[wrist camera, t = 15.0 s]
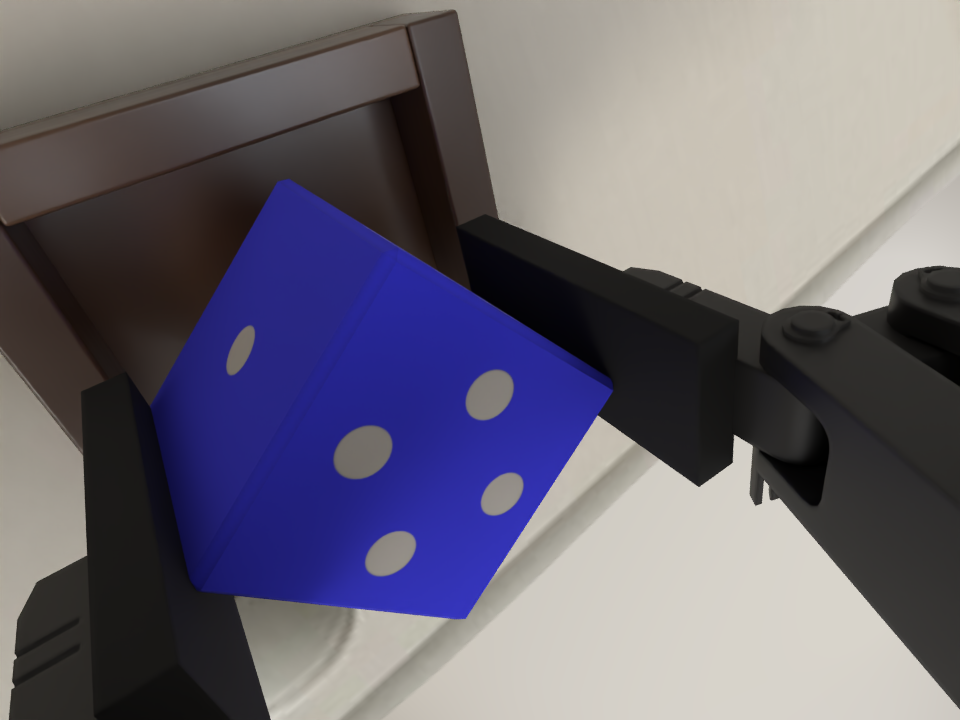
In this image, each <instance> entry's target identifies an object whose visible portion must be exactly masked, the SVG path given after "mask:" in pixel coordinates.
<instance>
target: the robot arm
mask: <svg viewBox="0 0 960 720" xmlns="http://www.w3.org/2000/svg"><path fill="white" fill-rule="evenodd" d="M456 230H457V234H458V238H459V242H460V246H461V250H462V254H463V259H464V263H465V267H466V271H467V275H468V279H469V283H470V287H471V291H472V292H473V293H474V294H476V295H478V296H479V297H481V298H482V299H484V300H486V301H487V302H489V303H490V304H492V305H494V306H495V307H497V308H498V309H500V310H502V311H503V312H505V313H506V314H508V315H510V316H511V317H513V318H514V319H516V320H518V321H519V322H521V323H522V324H524V325H526V326H527V327H529V328H530V329H532V330H534V331H535V332H537V333H538V334H540V335H542V336H543V337H545V338H546V339H548V340H549V341H551V342H553V343H554V344H556V345H557V346H559V347H561V348H562V349H564V350H565V351H567V352H569V353H570V354H572V355H573V356H575V357H577V358H578V359H580V360H581V361H583V362H585V363H586V364H588V365H589V366H591V367H593V368H594V369H596V370H597V371H599V372H601V373H602V374H604V375H605V376H607V377H609V378H610V379H611V381H612V383H613V392H612V394H611V395H610V397H609V398H608V400H607V401H606V403H605V404H604V406H603V408H602V409H601V411H600V412H599V414H598V416H600V417H601V418H602V419H604V420H605V421H607V422H608V423H609V424H611V425H612V426H614V427H615V428H617V429H618V430H619V431H621V432H622V433H624V434H625V435H626V436H628V437H629V438H631V439H632V440H633V441H635V442H636V443H638V444H639V445H640V446H642V447H643V448H645V449H646V450H648V451H649V452H650V453H652V454H653V455H655V456H656V457H657V458H659V459H660V460H662V461H663V462H664V463H666V464H668V465H669V466H670V467H671V468H673V469H674V470H676V471H677V472H679V473H680V474H682V475H683V476H684V477H686V478H687V479H689V480H690V481H691V482H693V483H694V484H695V485H697V486H698V487H700V486H701V485H702V484H704V483H705V482H707V481H708V480H709V479H711V478H712V477H714V476H715V475H716V474H718V473H719V472H720V471H722V470H723V469H725V468H726V467H727V466H729V465H730V464H732V463H733V443H734V435H736V436H738V437H740V438H741V439H743V440H745V441H746V442H748V443H750V444H751V445H753V454H752V468H751V481H750V496H751V498H752V500H753V502H754V504H755V505H759V504H761V503H762V493H763V483H764V480H765V482H766V483H767V484H768V485H769V496H770V500H775V499H778V498H780V499H781V500H782V501H783V503H784V504H785V505H786V506H787V507H788V508H789V510H790V511H791V512H792V513H793V514H794V515H795V517H796V518H797V519H798V520H799V521H800V523H801V524H802V525H803V526H804V527H805V528H806V530H807V531H808V532H809V533H810V534H811V535H812V537H813V538H814V539H815V540H816V541H817V542H818V544H819V545H820V546H821V547H822V548H823V550H824V551H825V552H826V553H827V554H828V555H829V557H830V558H831V559H832V560H833V561H834V562H835V564H836V565H837V566H838V567H839V568H840V569H841V571H842V572H843V573H844V574H845V575H846V576H847V578H848V579H849V580H850V581H851V582H852V583H853V585H854V586H855V587H856V588H857V589H858V591H859V592H860V593H861V594H862V595H863V596H864V598H865V599H866V600H867V601H868V602H869V603H870V605H871V606H872V607H873V608H874V609H875V610H876V612H877V613H878V614H879V615H880V616H881V618H882V619H883V620H884V621H885V622H886V623H887V625H888V626H889V627H890V628H891V629H892V630H893V632H894V633H895V634H896V635H897V636H898V637H899V639H900V640H901V641H902V642H903V643H904V644H905V646H906V647H907V648H908V649H909V650H910V651H911V653H912V654H913V655H914V656H915V657H916V658H917V659H918V661H919V662H920V663H921V664H922V665H923V667H924V668H925V669H926V670H927V671H928V673H929V674H930V675H931V676H932V677H933V678H934V680H935V681H936V682H937V683H938V684H939V686H940V687H941V688H942V689H943V690H944V691H945V692H946V694H947V695H948V696H949V697H950V698H951V700H952V701H953V702H954V703H955V704H956V705H957V707H958V708H959V709H960V268H954V267H945V266H932V267H925V268H918V269H914V270H911V271H909V272H905V273H903V274H902V275H900V276H899V277H898V278H897V279H895V280H894V284H893V289H892V293H891V298H890V303H889V305H888V306H885V307H882V308H879V309H875V310H872V311H868V312H865V313H862V314H858V315H855V316H850V315H848V314H846V313H844V312H842V311H839V310H835V309H831V308H826V307H821V306H797V307H791V308H785V309H782V310H780V311H777V312H775V313H773V314H768V313H765V312H763V311H760V310H758V309H755V308H753V307H750V306H748V305H745V304H743V303H740V302H737V301H735V300H732V299H730V298H727V297H725V296H722V295H720V294H717V293H714V292H712V291H709V290H707V289H705V290H702V289H701V287H699V286H697V285H694V284H691V283H689V282H685V283H683V282H682V280H681V279H679V278H676V277H674V276H671V275H668V274H666V273H663V272H661V271H657V270H649V269H641V268H633V267H630V268H629V269H627V270H625V271H620V270H618V269H616V268H613V267H611V266H608V265H606V264H604V263H601V262H599V261H596V260H594V259H592V258H589V257H587V256H585V255H582V254H580V253H577V252H575V251H573V250H570V249H568V248H565V247H563V246H561V245H558V244H556V243H553V242H551V241H549V240H546V239H544V238H542V237H539V236H537V235H534V234H532V233H530V232H527V231H525V230H522V229H520V228H518V227H515V226H513V225H510V224H508V223H506V222H503V221H501V220H499V219H496V218H494V217H491V216H489V215H487V214H484V215H482V216H479V217H477V218H475V219H473V220H470V221H468V222H466V223H463V224H461V225H459V226H457V227H456ZM81 411H82V436H83V461H84V486H85V512H86V537H87V556H85V557H84V558H82V559H80V560H78V561H76V562H74V563H72V564H70V565H68V566H66V567H65V568H63V569H61V570H59V571H57V572H55V573H53V574H51V575H49V576H47V577H46V578H44V579H42V580H40V581H38V582H37V583H36V585H35V587H34V589H33V591H32V592H31V594H30V596H29V598H28V600H27V602H26V604H25V606H24V608H23V610H22V612H21V614H20V616H19V618H18V620H17V631H16V643H15V654H16V656H17V659H15V660H14V666H13V678H12V682H13V684H14V686H15V688H13V689H12V690H11V702H10V713H9V720H271V719H270V716H269V712H268V709H267V706H266V702H265V699H264V696H263V692H262V689H261V686H260V682H259V679H258V676H257V672H256V669H255V666H254V662H253V659H252V656H251V652H250V649H249V646H248V642H247V639H246V636H245V632H244V629H243V626H242V622H241V619H240V616H239V612H238V609H237V606H236V602H235V599H234V596H233V595H226V594H216V593H207V592H199V591H197V590H196V588H195V587H194V585H193V584H192V583H191V581H190V579H189V575H188V571H187V566H186V562H185V557H184V553H183V548H182V544H181V539H180V535H179V530H178V526H177V522H176V517H175V513H174V508H173V504H172V499H171V495H170V490H169V486H168V482H167V477H166V473H165V468H164V464H163V459H162V455H161V450H160V446H159V442H158V437H157V433H156V428H155V424H154V419H153V415H152V410H151V408H150V406H149V405H148V403H147V402H146V400H145V399H144V397H143V396H142V394H141V393H140V391H139V390H138V388H137V387H136V385H135V384H134V382H133V381H132V379H131V378H130V376H129V375H128V374H127V372H124V373H122V374H119V375H117V376H115V377H113V378H110V379H108V380H106V381H104V382H101V383H99V384H97V385H94V386H92V387H90V388H88V389H85V390H83V391H81Z"/></svg>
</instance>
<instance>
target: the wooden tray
mask: <svg viewBox="0 0 960 720" xmlns="http://www.w3.org/2000/svg"><path fill="white" fill-rule="evenodd" d="M286 179H290V180H292V181H293V182H295V183H297V184H298V185H300V186H302V187H303V188H305V189H306V190H308V191H310V192H311V193H313V194H314V195H316V196H318V197H319V198H321V199H323V200H324V201H326V202H327V203H329V204H331V205H332V206H334V207H335V208H337V209H339V210H340V211H342V212H344V213H345V214H347V215H348V216H350V217H352V218H353V219H355V220H357V221H358V222H360V223H361V224H363V225H365V226H366V227H368V228H369V229H371V230H373V231H374V232H376V233H378V234H379V235H381V236H382V237H384V238H386V239H387V240H389V241H390V242H392V243H394V244H395V245H397V246H399V247H400V248H402V249H403V250H405V251H407V252H408V253H410V254H411V255H413V256H415V257H416V258H418V259H420V260H421V261H423V262H424V263H426V264H428V265H429V266H431V267H432V268H434V269H436V270H437V271H439V272H441V273H442V274H444V275H445V276H447V277H449V278H450V279H452V280H453V281H455V282H457V283H458V284H460V285H462V286H463V287H465V288H466V289H468V290H470V291H471V287H470V283H469V279H468V275H467V271H466V267H465V263H464V259H463V254H462V250H461V246H460V242H459V238H458V234H457V230H456V227H457V226H459V225H461V224H463V223H466V222H468V221H470V220H473V219H475V218H477V217H479V216H482V215H484V214H487V215H489V216H491V217H494V218H496V219H499V218H498V214H497V209H496V204H495V199H494V194H493V189H492V184H491V179H490V174H489V169H488V164H487V159H486V154H485V149H484V144H483V139H482V134H481V129H480V124H479V119H478V114H477V109H476V104H475V99H474V94H473V89H472V84H471V79H470V74H469V69H468V64H467V59H466V54H465V49H464V45H463V40H462V35H461V30H460V25H459V20H458V15H457V12H456V11H455V10H444V11H433V12H421V13H409V14H402V15H398V16H395V17H391V18H388V19H384V20H381V21H377V22H374V23H371V24H367V25H364V26H360V27H357V28H353V29H350V30H346V31H343V32H340V33H336V34H333V35H329V36H326V37H322V38H319V39H315V40H312V41H308V42H305V43H302V44H298V45H295V46H291V47H288V48H284V49H281V50H277V51H274V52H270V53H267V54H264V55H260V56H257V57H253V58H250V59H246V60H243V61H239V62H236V63H233V64H229V65H226V66H222V67H219V68H215V69H212V70H208V71H205V72H201V73H198V74H195V75H191V76H188V77H184V78H181V79H177V80H174V81H170V82H167V83H164V84H160V85H157V86H153V87H150V88H146V89H143V90H139V91H136V92H132V93H129V94H126V95H122V96H119V97H115V98H112V99H108V100H105V101H101V102H98V103H95V104H91V105H88V106H84V107H81V108H77V109H74V110H70V111H67V112H63V113H60V114H57V115H53V116H50V117H46V118H43V119H39V120H36V121H32V122H29V123H25V124H22V125H19V126H15V127H12V128H8V129H5V130H1V131H0V352H1V354H2V355H3V356H4V357H5V359H6V360H7V361H8V362H9V364H10V365H11V366H12V367H13V369H14V370H15V371H16V372H17V374H18V375H19V376H20V377H21V379H22V380H23V381H24V382H25V384H26V385H27V386H28V387H29V389H30V390H31V391H32V392H33V394H34V395H35V396H36V397H37V399H38V400H39V401H40V402H41V404H42V405H43V406H44V407H45V409H46V410H47V411H48V412H49V414H50V415H51V416H52V417H53V419H54V420H55V421H56V422H57V424H58V425H59V426H60V427H61V429H62V430H63V431H64V432H65V434H66V435H67V436H68V437H69V439H70V440H71V441H72V442H73V444H74V445H75V446H76V447H77V449H78V450H79V451H80V452H81V453H82V455H83V436H82V411H81V391H83V390H85V389H88V388H90V387H92V386H94V385H97V384H99V383H101V382H104V381H106V380H108V379H110V378H113V377H115V376H117V375H119V374H122V373H124V372H127V374H128V375H129V376H130V378H131V379H132V381H133V382H134V384H135V385H136V387H137V388H138V390H139V391H140V393H141V394H142V396H143V397H144V399H145V400H146V402H147V403H148V405H149V406H150V405H151V404H152V402H153V400H154V398H155V397H156V395H157V393H158V391H159V390H160V388H161V386H162V384H163V383H164V381H165V379H166V377H167V375H168V374H169V372H170V370H171V368H172V367H173V365H174V363H175V361H176V360H177V358H178V356H179V354H180V353H181V351H182V349H183V347H184V346H185V344H186V342H187V340H188V338H189V337H190V335H191V333H192V331H193V330H194V328H195V326H196V324H197V323H198V321H199V319H200V317H201V316H202V314H203V312H204V310H205V309H206V307H207V305H208V303H209V301H210V300H211V298H212V296H213V294H214V293H215V291H216V289H217V287H218V286H219V284H220V282H221V280H222V279H223V277H224V275H225V273H226V272H227V270H228V268H229V266H230V264H231V263H232V261H233V259H234V257H235V256H236V254H237V252H238V250H239V249H240V247H241V245H242V243H243V242H244V240H245V238H246V236H247V235H248V233H249V231H250V229H251V227H252V226H253V224H254V222H255V220H256V219H257V217H258V215H259V213H260V212H261V210H262V208H263V206H264V205H265V203H266V201H267V199H268V198H269V196H270V194H271V192H272V190H273V189H274V187H275V185H276V183H277V182H278V181H282V180H286ZM471 292H472V291H471ZM150 408H151V407H150Z"/></svg>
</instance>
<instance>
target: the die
mask: <svg viewBox="0 0 960 720" xmlns="http://www.w3.org/2000/svg"><path fill="white" fill-rule="evenodd" d="M612 392H613V383H612V381H611V379H610V378H609V377H607V376H605V375H604V374H602V373H601V372H599V371H597V370H596V369H594V368H593V367H591V366H589V365H588V364H586V363H585V362H583V361H581V360H580V359H578V358H577V357H575V356H573V355H572V354H570V353H569V352H567V351H565V350H564V349H562V348H561V347H559V346H557V345H556V344H554V343H553V342H551V341H549V340H548V339H546V338H545V337H543V336H542V335H540V334H538V333H537V332H535V331H534V330H532V329H530V328H529V327H527V326H526V325H524V324H522V323H521V322H519V321H518V320H516V319H514V318H513V317H511V316H510V315H508V314H506V313H505V312H503V311H502V310H500V309H498V308H497V307H495V306H494V305H492V304H490V303H489V302H487V301H486V300H484V299H482V298H481V297H479V296H478V295H476V294H474V293H473V292H471V291H470V290H468V289H466V288H465V287H463V286H462V285H460V284H458V283H457V282H455V281H453V280H452V279H450V278H449V277H447V276H445V275H444V274H442V273H441V272H439V271H437V270H436V269H434V268H432V267H431V266H429V265H428V264H426V263H424V262H423V261H421V260H420V259H418V258H416V257H415V256H413V255H411V254H410V253H408V252H407V251H405V250H403V249H402V248H400V247H399V246H397V245H395V244H394V243H392V242H390V241H389V240H387V239H386V238H384V237H382V236H381V235H379V234H378V233H376V232H374V231H373V230H371V229H369V228H368V227H366V226H365V225H363V224H361V223H360V222H358V221H357V220H355V219H353V218H352V217H350V216H348V215H347V214H345V213H344V212H342V211H340V210H339V209H337V208H335V207H334V206H332V205H331V204H329V203H327V202H326V201H324V200H323V199H321V198H319V197H318V196H316V195H314V194H313V193H311V192H310V191H308V190H306V189H305V188H303V187H302V186H300V185H298V184H297V183H295V182H293V181H292V180H290V179H286V180H282V181H278V182H277V183H276V185H275V187H274V189H273V190H272V192H271V194H270V196H269V198H268V199H267V201H266V203H265V205H264V206H263V208H262V210H261V212H260V213H259V215H258V217H257V219H256V220H255V222H254V224H253V226H252V227H251V229H250V231H249V233H248V235H247V236H246V238H245V240H244V242H243V243H242V245H241V247H240V249H239V250H238V252H237V254H236V256H235V257H234V259H233V261H232V263H231V264H230V266H229V268H228V270H227V272H226V273H225V275H224V277H223V279H222V280H221V282H220V284H219V286H218V287H217V289H216V291H215V293H214V294H213V296H212V298H211V300H210V301H209V303H208V305H207V307H206V309H205V310H204V312H203V314H202V316H201V317H200V319H199V321H198V323H197V324H196V326H195V328H194V330H193V331H192V333H191V335H190V337H189V338H188V340H187V342H186V344H185V346H184V347H183V349H182V351H181V353H180V354H179V356H178V358H177V360H176V361H175V363H174V365H173V367H172V368H171V370H170V372H169V374H168V375H167V377H166V379H165V381H164V383H163V384H162V386H161V388H160V390H159V391H158V393H157V395H156V397H155V398H154V400H153V402H152V404H151V405H150V407H151V410H152V415H153V419H154V424H155V428H156V433H157V437H158V442H159V446H160V450H161V455H162V459H163V464H164V468H165V473H166V477H167V482H168V486H169V490H170V495H171V499H172V504H173V508H174V513H175V517H176V522H177V526H178V530H179V535H180V539H181V544H182V548H183V553H184V557H185V562H186V566H187V571H188V575H189V579H190V581H191V583H192V584H193V585H194V587H195V588H196V590H197V591H199V592H207V593H216V594H226V595H235V596H244V597H254V598H263V599H272V600H282V601H291V602H300V603H310V604H319V605H328V606H338V607H347V608H356V609H366V610H375V611H384V612H394V613H403V614H412V615H422V616H431V617H441V618H450V619H466V617H467V616H468V614H469V613H470V611H471V609H472V608H473V606H474V605H475V603H476V602H477V600H478V599H479V597H480V596H481V594H482V593H483V591H484V589H485V588H486V586H487V585H488V583H489V582H490V580H491V579H492V577H493V576H494V574H495V572H496V571H497V569H498V568H499V566H500V565H501V563H502V562H503V560H504V559H505V557H506V556H507V554H508V552H509V551H510V549H511V548H512V546H513V545H514V543H515V542H516V540H517V539H518V537H519V535H520V534H521V532H522V531H523V529H524V528H525V526H526V525H527V523H528V522H529V520H530V519H531V517H532V515H533V514H534V512H535V511H536V509H537V508H538V506H539V505H540V503H541V502H542V500H543V499H544V497H545V495H546V494H547V492H548V491H549V489H550V488H551V486H552V485H553V483H554V482H555V480H556V478H557V477H558V475H559V474H560V472H561V471H562V469H563V468H564V466H565V465H566V463H567V462H568V460H569V458H570V457H571V455H572V454H573V452H574V451H575V449H576V448H577V446H578V445H579V443H580V441H581V440H582V438H583V437H584V435H585V434H586V432H587V431H588V429H589V428H590V426H591V425H592V423H593V421H594V420H595V418H596V417H597V415H598V414H599V412H600V411H601V409H602V408H603V406H604V404H605V403H606V401H607V400H608V398H609V397H610V395H611V394H612Z"/></svg>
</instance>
